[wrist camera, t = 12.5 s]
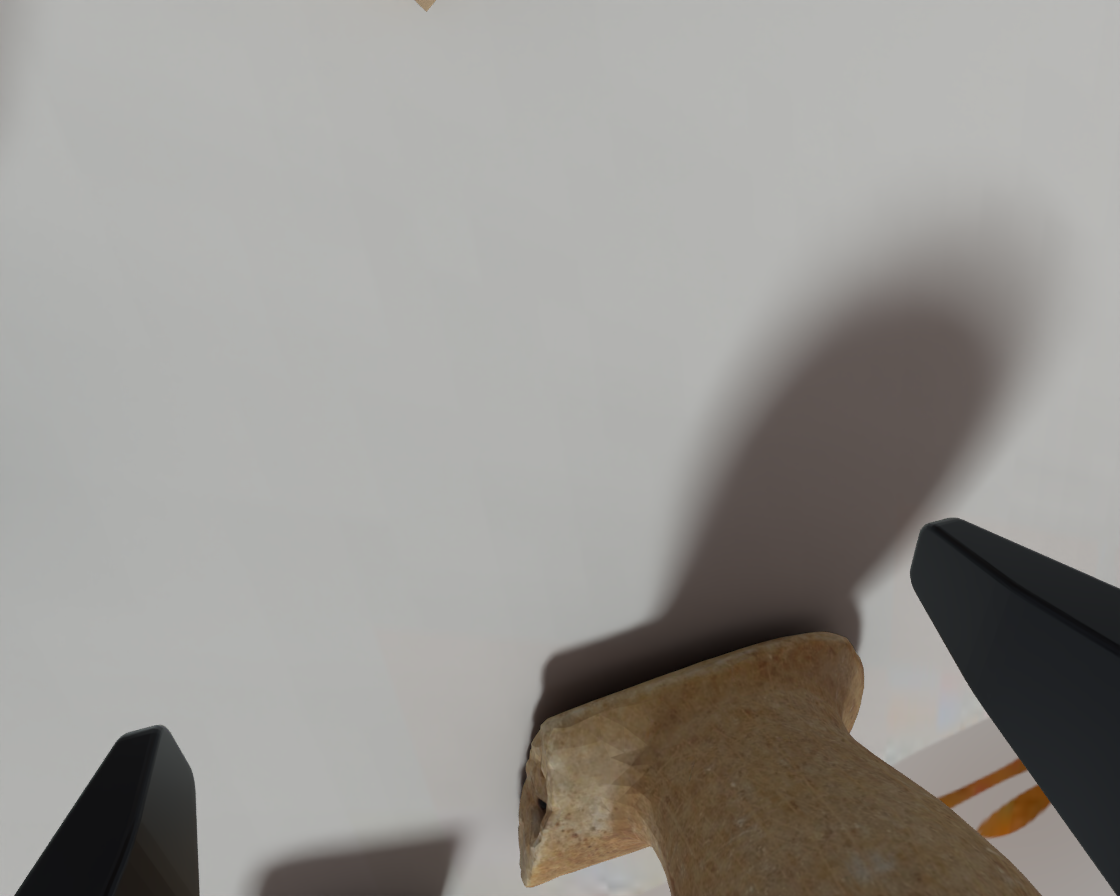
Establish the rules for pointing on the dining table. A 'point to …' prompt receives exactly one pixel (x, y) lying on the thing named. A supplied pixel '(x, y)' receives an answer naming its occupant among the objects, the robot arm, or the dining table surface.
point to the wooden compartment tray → (425, 3)
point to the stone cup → (746, 787)
